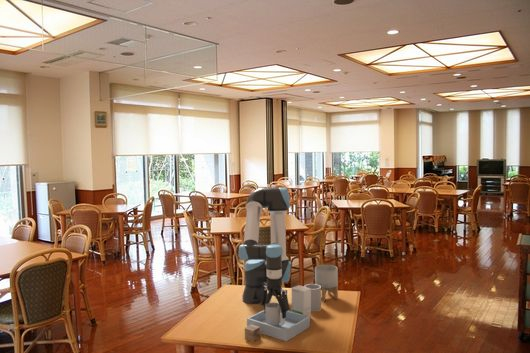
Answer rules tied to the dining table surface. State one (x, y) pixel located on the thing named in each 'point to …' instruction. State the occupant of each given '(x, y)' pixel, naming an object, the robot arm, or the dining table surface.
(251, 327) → the walnut cube
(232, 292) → the dining table surface
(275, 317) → the cup
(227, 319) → the dining table surface
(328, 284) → the planter
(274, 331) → the tote
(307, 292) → the skincare box
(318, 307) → the cup
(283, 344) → the dining table surface
